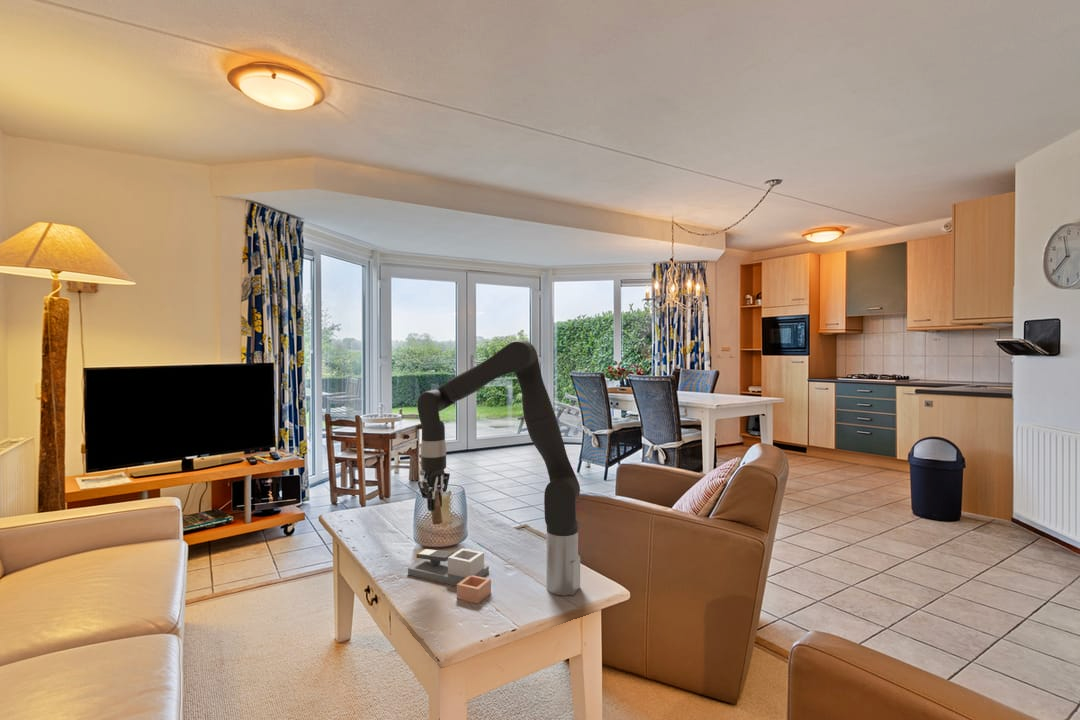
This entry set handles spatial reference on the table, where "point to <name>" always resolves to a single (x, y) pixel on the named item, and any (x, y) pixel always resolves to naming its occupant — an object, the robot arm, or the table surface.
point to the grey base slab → (451, 567)
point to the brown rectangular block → (436, 509)
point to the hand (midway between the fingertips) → (435, 508)
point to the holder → (473, 588)
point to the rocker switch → (434, 555)
